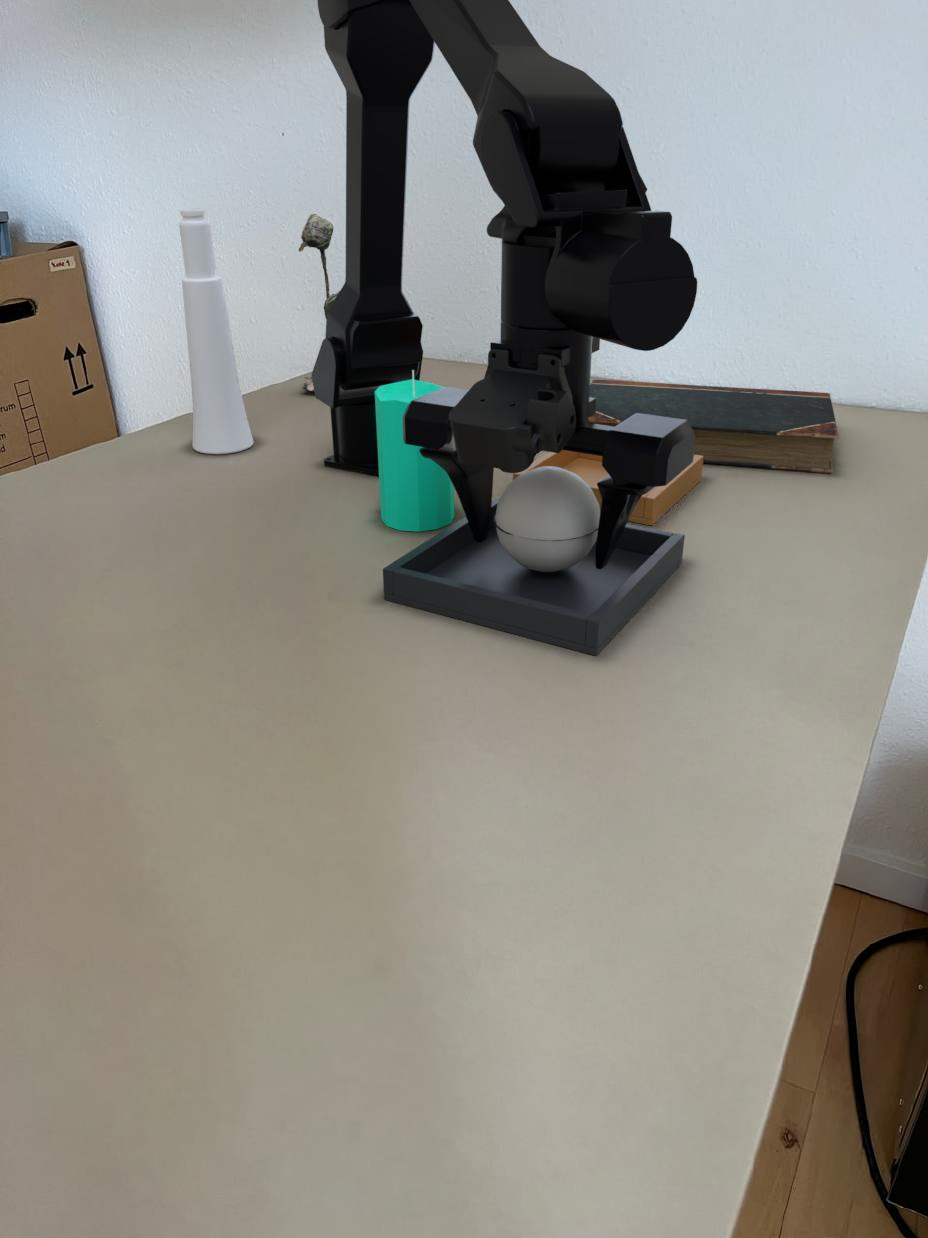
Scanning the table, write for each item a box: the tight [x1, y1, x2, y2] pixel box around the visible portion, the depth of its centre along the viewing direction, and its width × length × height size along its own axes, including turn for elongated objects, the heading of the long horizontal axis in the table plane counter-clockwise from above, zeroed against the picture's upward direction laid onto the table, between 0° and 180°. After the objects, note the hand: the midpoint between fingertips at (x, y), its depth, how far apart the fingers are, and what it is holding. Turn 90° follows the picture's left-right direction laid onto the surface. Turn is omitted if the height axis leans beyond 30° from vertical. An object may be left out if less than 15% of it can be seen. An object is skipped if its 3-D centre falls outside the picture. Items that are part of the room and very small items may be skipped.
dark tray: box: [382, 497, 686, 656], centre depth 66 cm, size 16×16×2 cm
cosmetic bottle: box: [178, 208, 255, 455], centre depth 90 cm, size 6×6×22 cm
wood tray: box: [512, 450, 704, 527], centre depth 82 cm, size 13×13×2 cm
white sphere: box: [493, 466, 600, 572], centre depth 64 cm, size 10×7×7 cm
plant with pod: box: [298, 213, 340, 392], centre depth 111 cm, size 8×11×20 cm
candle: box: [375, 370, 455, 533], centre depth 74 cm, size 6×6×12 cm
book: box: [588, 379, 840, 474], centre depth 95 cm, size 17×4×25 cm
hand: (539, 553), depth 65 cm, fingers open, 9 cm apart
